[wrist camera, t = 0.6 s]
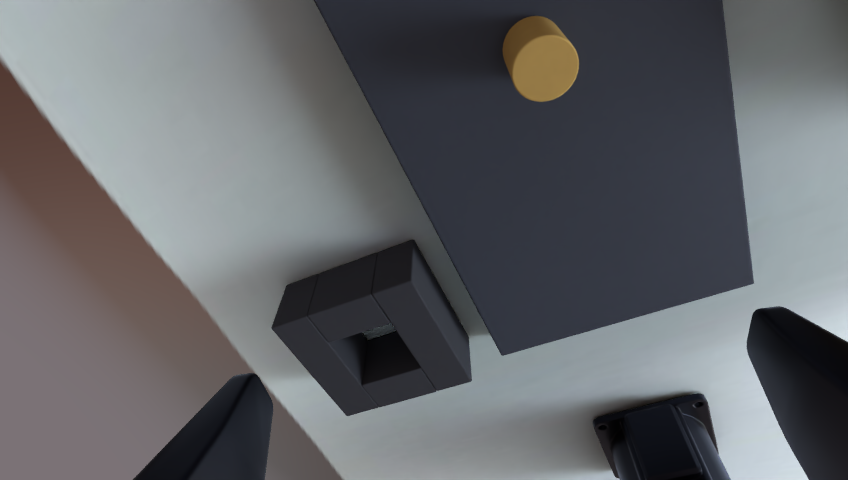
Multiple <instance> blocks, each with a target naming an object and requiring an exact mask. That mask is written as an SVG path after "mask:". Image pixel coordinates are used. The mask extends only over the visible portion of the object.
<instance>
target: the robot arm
mask: <svg viewBox="0 0 848 480" xmlns="http://www.w3.org/2000/svg"><path fill="white" fill-rule="evenodd" d="M747 351H748V355H749V358H750V360H751V362H752V364H753V367H754V369H755V371H756V373H757V376H758V378H759V380H760V382H761V385H762V387H763V389H764V392H765V394H766V396H767V398H768V401H769V403H770V405H771V407H772V410H773V412H774V414H775V416H776V419H777V421H778V423H779V425H780V428H781V430H782V432H783V434H784V436H785V438H786V440H787V442H788V444H789V445H790V447H791V449H792V451H793V453H794V454H795V456H796V458H797V460H798V461H799V463H800V465H801V467H802V468H803V470H804V472H805V473H806V475H807V477H808V479H809V480H848V342H847V341H845V340H843V339H841V338H839V337H838V336H836V335H834V334H832V333H830V332H829V331H827V330H825V329H823V328H821V327H820V326H818V325H816V324H814V323H812V322H810V321H809V320H807V319H805V318H803V317H801V316H800V315H798V314H796V313H794V312H792V311H791V310H789V309H787V308H784V307H780V306H778V307H769V308H761V309H757V310H756V311H755V312H754V313H753V315H752V320H751V324H750V329H749V334H748V338H747ZM272 416H273V403H272V400H271V398H270V396H269V394H268V392H267V391H266V389H265V387H264V385H263V384H262V382H261V380H260V378H259V377H258V376H257V375H256V374H254V373H248V374H241V375H236V376H233V377H232V378H231V379H230V380H229V381H228V382H227V383H226V384H225V385H224V386H223V387H222V388H221V389H220V390H219V391H218V392H217V393H216V394H215V395H214V396H213V397H212V398H211V399H210V401H209V402H208V403H207V404H206V405H205V406H204V407H203V408H202V409H201V410H200V411H199V412H198V413H197V414H196V415H195V416H194V417H193V418H192V419H191V420H190V421H189V422H188V423H187V424H186V425H185V426H184V427H183V428H182V429H181V431H179V433H178V434H177V435H176V436H175V437H174V438H173V439H172V440H171V441H170V442H169V443H168V444H167V445H166V446H165V447H164V448H163V449H162V450H161V451H160V452H159V453H158V454H157V455H156V456H155V457H154V459H152V460H151V461H150V463H149V464H148V465H147V466H146V467H145V468H144V469H143V470H142V471H141V472H140V473H139V474H138V475H137V476H136V477H135V478H134V479H133V480H265V473H266V465H267V457H268V448H269V440H270V432H271V423H272ZM593 426H594V429H595V431H596V434H597V436H598V438H599V441H600V443H601V445H602V448H603V450H604V452H605V455H606V457H607V459H608V462H609V464H610V466H611V469H612V471H613V473H614V476H615V477H616V478H620V480H731V479H730V477H729V475H728V473H727V471H726V469H725V467H724V465H723V463H722V461H721V459H720V457H719V453H718V448H717V444H716V439H715V434H714V430H713V425H712V420H711V416H710V411H709V406H708V402H707V400H706V398H705V396H704V395H703V394H699V393H697V394H692V395H687V396H683V397H679V398H675V399H671V400H667V401H663V402H659V403H655V404H651V405H646V406H642V407H638V408H634V409H630V410H626V411H622V412H618V413H614V414H610V415H605V416H601V417H598V418H596V419H594V421H593Z"/></svg>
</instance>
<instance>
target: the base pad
mask: <svg viewBox="0 0 848 480" xmlns="http://www.w3.org/2000/svg"><path fill="white" fill-rule="evenodd" d="M314 1H315V3H316V5H317V7H318V9H319V11H320V13H321V15H322V16H323V18H324V20H325V22H326V24H327V26H328V28H329V30H330V32H331V33H332V35H333V37H334V39H335V41H336V43H337V45H338V47H339V49H340V50H341V52H342V54H343V56H344V58H345V60H346V62H347V64H348V66H349V68H350V69H351V71H352V73H353V75H354V77H355V79H356V81H357V83H358V85H359V86H360V88H361V90H362V92H363V94H364V96H365V98H366V100H367V102H368V103H369V105H370V107H371V109H372V111H373V113H374V115H375V117H376V119H377V120H378V122H379V124H380V126H381V128H382V130H383V132H384V134H385V136H386V138H387V139H388V141H389V143H390V145H391V147H392V149H393V151H394V153H395V155H396V156H397V158H398V160H399V162H400V164H401V166H402V168H403V170H404V172H405V173H406V175H407V177H408V179H409V181H410V183H411V185H412V187H413V189H414V190H415V192H416V194H417V196H418V198H419V200H420V202H421V204H422V206H423V208H424V209H425V211H426V213H427V215H428V217H429V219H430V221H431V223H432V225H433V226H434V228H435V230H436V232H437V234H438V236H439V238H440V240H441V242H442V243H443V245H444V247H445V249H446V251H447V253H448V255H449V257H450V259H451V261H452V262H453V264H454V266H455V268H456V270H457V272H458V274H459V276H460V278H461V279H462V281H463V283H464V285H465V287H466V289H467V291H468V293H469V295H470V296H471V298H472V300H473V302H474V304H475V306H476V308H477V310H478V312H479V313H480V315H481V317H482V319H483V321H484V323H485V325H486V327H487V329H488V331H489V332H490V334H491V336H492V338H493V340H494V342H495V344H496V346H497V348H498V349H499V351H500V353H501V355H507V354H510V353H514V352H517V351H520V350H524V349H527V348H531V347H534V346H538V345H541V344H545V343H548V342H552V341H555V340H559V339H562V338H566V337H569V336H573V335H576V334H580V333H583V332H587V331H590V330H594V329H597V328H601V327H604V326H608V325H611V324H615V323H618V322H622V321H625V320H628V319H632V318H635V317H639V316H642V315H646V314H649V313H653V312H656V311H660V310H663V309H667V308H670V307H674V306H677V305H681V304H684V303H688V302H691V301H695V300H698V299H702V298H705V297H709V296H712V295H716V294H719V293H723V292H726V291H730V290H733V289H736V288H740V287H743V286H747V285H750V284H753V283H754V280H753V271H752V262H751V254H750V245H749V236H748V227H747V218H746V209H745V200H744V191H743V182H742V173H741V164H740V155H739V146H738V137H737V128H736V119H735V110H734V101H733V92H732V83H731V74H730V65H729V56H728V47H727V39H726V30H725V21H724V12H723V3H722V0H314Z"/></svg>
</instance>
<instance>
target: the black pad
mask: <svg viewBox="0 0 848 480" xmlns="http://www.w3.org/2000/svg"><path fill="white" fill-rule="evenodd" d="M390 322H391V323H392V325H393V326H394V328H395V329H396V331H397V332H395V333H392V334H389V335H386V336H382V337H379V338H376V339H373V340H370V341H367V340H366V338H365V337H364V335H363V334H362V333H361V332H364V331H367V330H370V329H374V328H377V327H380V326H383V325H386V324H389V323H390ZM272 330H273V331H274V332H275V333H276V334H277V335H278V337H279V338H280V339H281V340H282V341H283V342H284V344H285V345H286V346H287V347H288V348H289V349H290V350H291V352H292V353H293V354H294V355H295V356H296V357H297V359H298V360H299V361H300V362H301V363H302V364H303V366H304V367H305V368H306V369H307V370H308V371H309V373H310V374H311V375H312V376H313V377H314V378H315V380H316V381H317V382H318V383H319V384H320V385H321V387H322V388H323V389H324V390H325V391H326V392H327V394H328V395H329V396H330V397H331V398H332V399H333V400H334V402H335V403H336V404H337V405H338V406H339V407H340V409H341V410H342V411H343V412H344V413H345V414H346V416H349V415H353V414H357V413H360V412H364V411H367V410H371V409H375V408H378V407H382V406H386V405H390V404H393V403H397V402H400V401H404V400H408V399H411V398H415V397H418V396H422V395H426V394H429V393H433V392H436V390H437V391H439V390H442V389H446V388H450V387H453V386H457V385H460V384H464V383H467V382H471V381H472V377H471V364H470V351H469V337H468V335H467V334H466V332H465V330H464V328H463V326H462V325H461V323H460V321H459V319H458V318H457V316H456V314H455V312H454V311H453V309H452V307H451V305H450V303H449V302H448V300H447V298H446V296H445V295H444V293H443V291H442V289H441V288H440V286H439V284H438V282H437V280H436V279H435V277H434V275H433V273H432V272H431V270H430V268H429V266H428V265H427V263H426V261H425V259H424V257H423V256H422V254H421V252H420V250H419V249H418V247H417V245H416V243H415V242H414V240H411V241H408V242H406V243H403V244H400V245H397V246H395V247H392V248H389V249H386V250H384V251H381V252H379V253H378V254H377V253H375V254H372V255H370V256H367V257H364V258H361V259H358V260H356V261H353V262H350V263H347V264H345V265H342V266H339V267H336V268H334V269H331V270H328V271H325V272H323V273H320V274H317V275H314V276H312V277H309V278H306V279H303V280H300V281H298V282H295V283H292V284H289V285H287V286H286V289H285V291H284V294H283V297H282V300H281V303H280V305H279V308H278V311H277V314H276V317H275V319H274V322H273V325H272Z"/></svg>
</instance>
